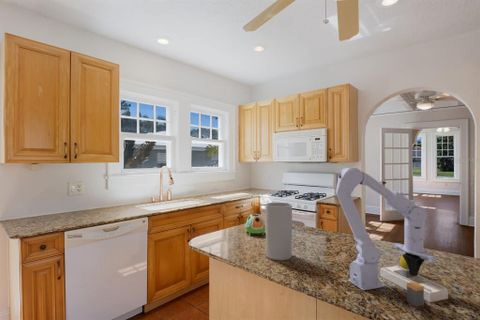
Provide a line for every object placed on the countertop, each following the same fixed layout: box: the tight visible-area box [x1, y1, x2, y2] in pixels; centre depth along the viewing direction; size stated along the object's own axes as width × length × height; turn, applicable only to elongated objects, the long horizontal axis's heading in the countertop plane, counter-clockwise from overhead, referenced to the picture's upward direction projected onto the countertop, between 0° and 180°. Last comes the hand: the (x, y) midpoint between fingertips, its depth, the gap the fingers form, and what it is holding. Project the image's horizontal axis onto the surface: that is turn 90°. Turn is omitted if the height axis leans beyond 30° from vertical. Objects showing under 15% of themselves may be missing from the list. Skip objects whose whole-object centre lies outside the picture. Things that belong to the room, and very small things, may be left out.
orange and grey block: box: [406, 282, 425, 307], centre depth 83 cm, size 3×3×6 cm
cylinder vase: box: [265, 201, 293, 261], centre depth 124 cm, size 12×12×25 cm
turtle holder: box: [245, 213, 266, 237], centre depth 164 cm, size 12×18×12 cm
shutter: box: [394, 269, 416, 278], centre depth 96 cm, size 5×5×3 cm
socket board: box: [379, 264, 449, 303], centre depth 94 cm, size 20×8×4 cm, turn 16°
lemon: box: [399, 254, 409, 270], centre depth 105 cm, size 6×6×8 cm
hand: (413, 275), depth 93 cm, fingers closed
